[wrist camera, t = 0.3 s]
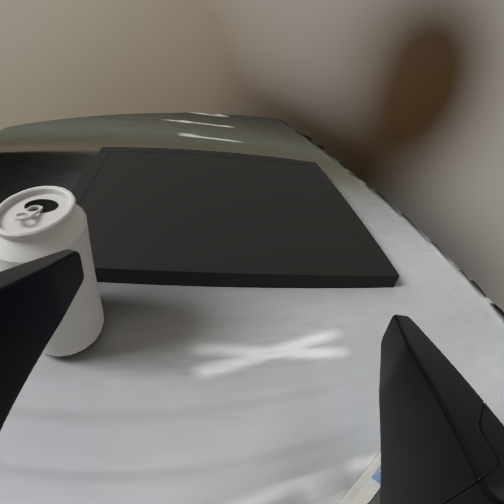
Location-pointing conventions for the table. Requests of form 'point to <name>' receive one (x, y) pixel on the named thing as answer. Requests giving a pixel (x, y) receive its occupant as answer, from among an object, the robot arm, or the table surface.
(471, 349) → the table surface
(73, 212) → the can
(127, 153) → the thin dark grey tray
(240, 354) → the table surface
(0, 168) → the table surface
